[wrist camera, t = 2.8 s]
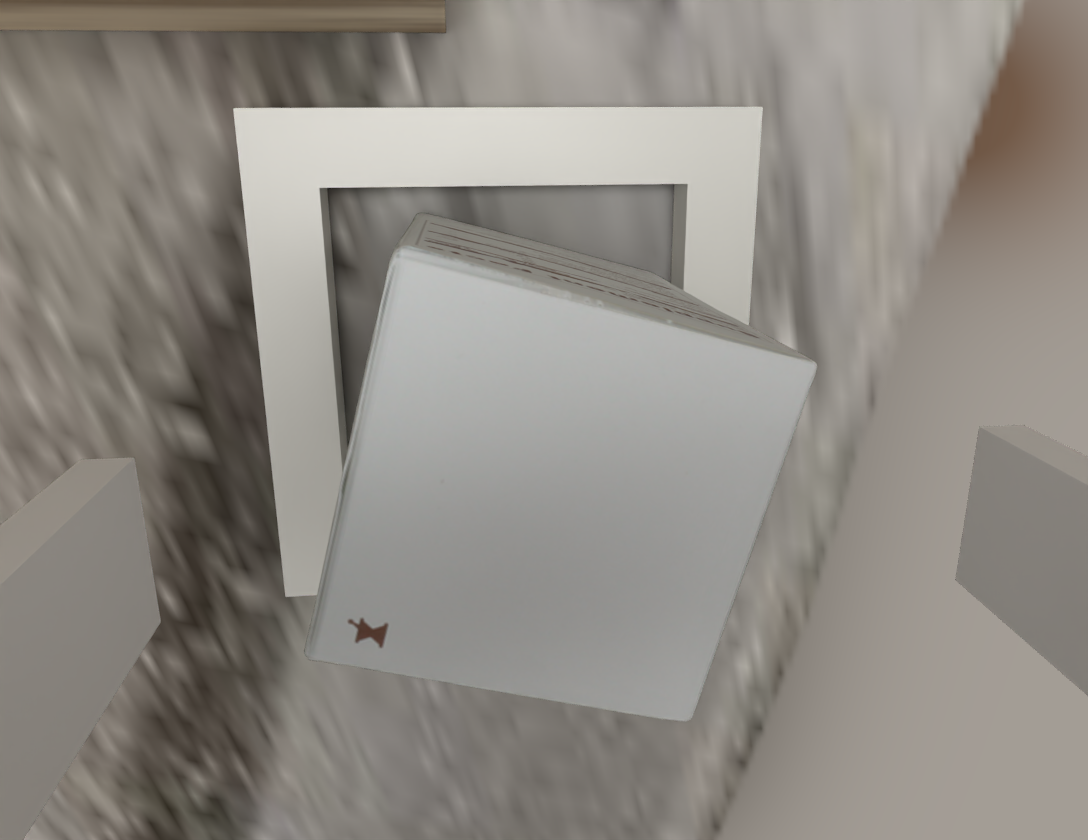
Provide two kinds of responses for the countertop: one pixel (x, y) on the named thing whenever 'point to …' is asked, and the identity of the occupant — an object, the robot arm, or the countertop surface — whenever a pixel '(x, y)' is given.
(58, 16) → the tray
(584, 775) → the countertop surface
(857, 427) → the countertop surface
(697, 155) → the white flat square frame
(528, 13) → the countertop surface
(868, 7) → the countertop surface
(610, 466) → the supplement box
